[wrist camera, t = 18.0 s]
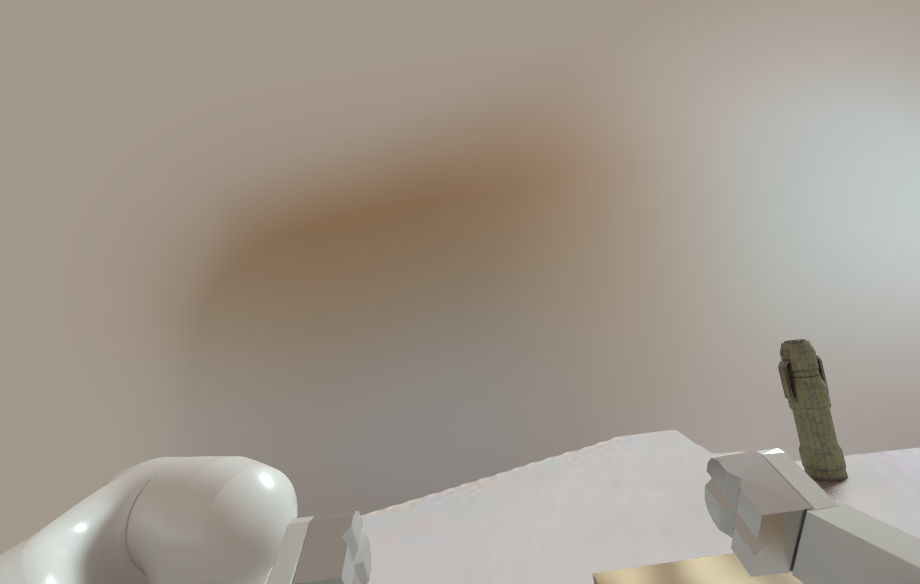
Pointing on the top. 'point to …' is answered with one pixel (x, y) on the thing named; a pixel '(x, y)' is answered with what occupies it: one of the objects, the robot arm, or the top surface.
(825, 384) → the olive piece
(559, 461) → the top surface
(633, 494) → the top surface
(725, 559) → the carton
